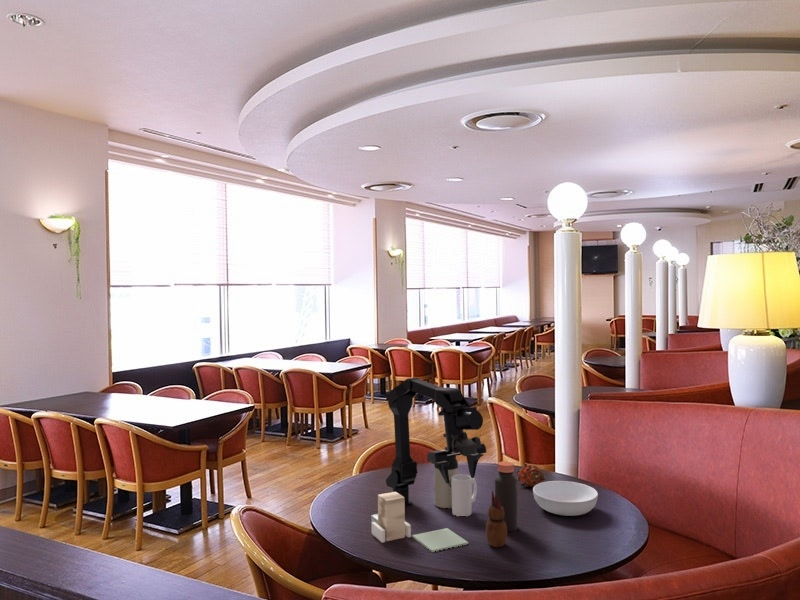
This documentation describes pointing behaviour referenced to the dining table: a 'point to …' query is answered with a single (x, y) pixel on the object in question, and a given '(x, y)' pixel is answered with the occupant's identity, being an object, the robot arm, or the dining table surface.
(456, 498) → the mug
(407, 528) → the channel
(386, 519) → the block
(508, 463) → the bottle
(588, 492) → the serving bowl
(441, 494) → the travel mug
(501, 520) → the wooden figurine
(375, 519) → the bar
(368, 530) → the dining table surface
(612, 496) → the dining table surface
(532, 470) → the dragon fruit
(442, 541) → the mat
